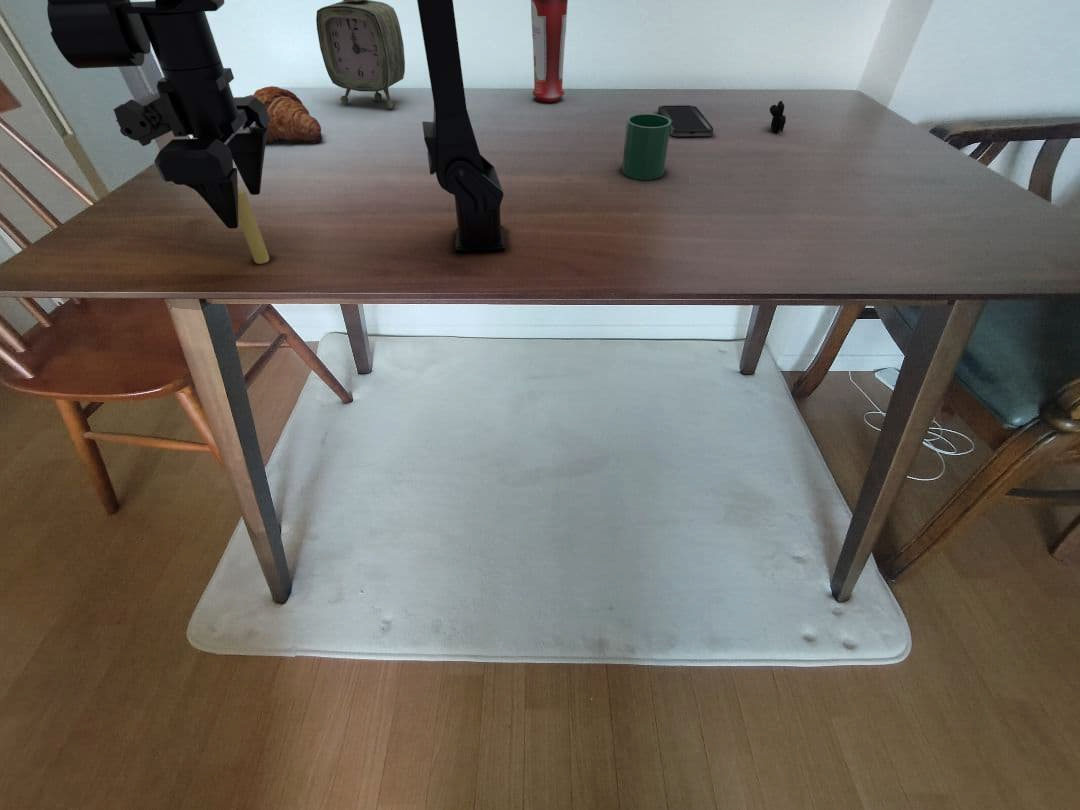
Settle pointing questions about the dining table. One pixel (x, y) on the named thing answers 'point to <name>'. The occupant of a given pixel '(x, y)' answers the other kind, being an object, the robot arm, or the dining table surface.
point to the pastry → (287, 117)
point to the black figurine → (777, 117)
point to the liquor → (548, 48)
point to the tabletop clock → (361, 46)
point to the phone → (686, 121)
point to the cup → (646, 146)
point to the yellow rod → (251, 228)
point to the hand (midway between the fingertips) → (244, 210)
